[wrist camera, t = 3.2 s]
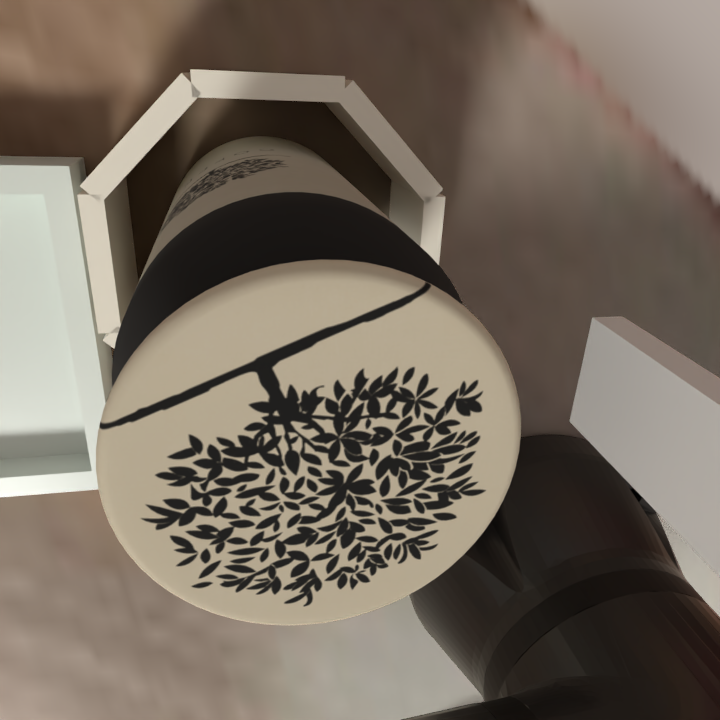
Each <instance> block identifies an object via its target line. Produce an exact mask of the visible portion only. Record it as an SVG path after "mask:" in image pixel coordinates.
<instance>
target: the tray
mask: <svg viewBox="0 0 720 720" xmlns="http://www.w3.org/2000/svg"><path fill="white" fill-rule="evenodd" d="M86 178H87V177H86V170H85V163H84V157H36V156H0V497H10V496H23V495H35V494H47V493H60V492H72V491H84V490H96V489H98V482H97V474H96V445H97V437H98V429H99V425H100V421H101V418H102V414H103V410H104V407H105V404H106V402H107V399H108V397H109V394H110V392H111V389H112V362H113V358H112V351H111V346H110V345H108V344H107V343H105V342H104V341H103V338H104V336H105V334H106V333H99V334H98V329H97V322H96V316H95V309H94V302H93V296H92V289H91V283H90V276H89V269H88V263H87V256H86V250H85V243H84V236H83V230H82V223H81V217H80V210H79V203H78V197H77V194H78V193H80V192H81V191H82V190H83V188H81V187H80V185H81V184H82V183H83V182H84V181H85V179H86Z"/></svg>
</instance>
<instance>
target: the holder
mask: <svg viewBox="0 0 720 720" xmlns="http://www.w3.org/2000/svg"><path fill="white" fill-rule="evenodd" d="M199 97H201V98H229V99H257V100H285V101H313V102H324V103H325V104H326V105H327V107H328V108H329V109H330V110H331V111H332V112H333V113H334V115H335V116H336V117H337V118H338V119H339V120H340V121H341V123H342V124H343V125H344V126H345V127H346V128H347V129H348V131H349V132H350V133H351V134H352V135H353V136H354V137H355V139H356V140H357V141H358V142H359V143H360V144H361V146H362V147H363V148H364V149H365V150H366V151H367V152H368V154H369V155H370V156H371V157H372V158H373V159H374V160H375V162H376V163H377V164H378V165H379V166H380V167H381V168H382V170H383V171H384V172H385V173H386V174H387V175H388V176H389V178H390V179H391V194H390V211H389V219H390V220H391V221H393V222H394V223H395V224H396V225H397V226H398V227H399V228H400V229H401V230H402V231H404V232H405V233H406V234H407V235H408V236H409V237H410V238H411V239H412V240H414V241H415V242H416V243H417V244H418V245H419V246H420V247H421V248H422V249H423V250H425V251H426V252H427V253H428V254H429V255H430V256H431V257H432V258H433V259H434V261H435V262H436V263H437V264H438V265H439V260H440V249H441V239H442V229H443V218H444V208H445V198H446V197H445V196H443V195H442V194H440V192H441V191H442V190H443V188H442V187H441V186H440V184H439V183H438V182H437V181H436V180H435V178H434V177H433V176H432V175H431V174H430V172H429V171H428V170H427V169H426V168H425V166H424V165H423V164H422V163H421V161H420V160H419V159H418V158H417V157H416V155H415V154H414V153H413V152H412V151H411V149H410V148H409V147H408V146H407V145H406V143H405V142H404V141H403V140H402V139H401V137H400V136H399V135H398V134H397V133H396V131H395V130H394V129H393V128H392V127H391V125H390V124H389V123H388V122H387V120H386V119H385V118H384V117H383V116H382V114H381V113H380V112H379V111H378V110H377V108H376V107H375V106H374V105H373V104H372V102H371V101H370V100H369V99H368V98H367V96H366V95H365V94H364V93H363V92H362V90H361V89H360V88H359V87H358V86H357V84H356V83H355V82H354V81H353V80H345V76H331V75H309V74H286V73H264V72H241V71H219V70H196V69H190V73H181V74H180V75H179V76H178V77H177V78H176V79H175V81H174V82H173V83H172V84H171V85H170V86H169V87H168V88H167V89H166V91H165V92H164V93H163V94H162V95H161V96H160V97H159V98H158V99H157V101H156V102H155V103H154V104H153V105H152V106H151V107H150V108H149V109H148V111H147V112H146V113H145V114H144V115H143V116H142V117H141V118H140V119H139V121H138V122H137V123H136V124H135V125H134V126H133V127H132V128H131V129H130V131H129V132H128V133H127V134H126V135H125V136H124V137H123V138H122V139H121V141H120V142H119V143H118V144H117V145H116V146H115V147H114V148H113V149H112V151H111V152H110V153H109V154H108V155H107V156H106V157H105V158H104V159H103V161H102V162H101V163H100V164H99V165H98V166H97V167H96V168H95V169H94V171H93V172H92V173H91V174H90V175H89V176H88V177H87V178H86V179H85V181H84V182H83V183H82V184H81V185H80V187H81V188H83V190H82V191H81V192H80V193H78V194H77V197H78V203H79V210H80V217H81V223H82V230H83V236H84V243H85V250H86V256H87V263H88V269H89V276H90V283H91V289H92V296H93V302H94V309H95V316H96V322H97V329H98V334H99V333H106V334H105V336H104V338H103V341H104V342H105V343H107V344H108V345H110V346H111V347H112V348H115V343H116V339H117V335H118V332H119V329H120V326H121V323H122V320H123V318H124V316H125V313H126V311H127V308H128V306H129V304H130V301H131V299H132V297H133V294H134V292H135V289H136V287H137V285H138V274H137V265H136V257H135V248H134V240H133V231H132V223H131V214H130V206H129V197H128V189H127V180H126V176H127V175H128V174H129V173H130V172H131V171H132V170H133V169H134V168H135V166H136V165H137V164H138V163H139V162H140V161H141V160H142V159H143V158H144V157H145V156H146V154H147V153H148V152H149V151H150V150H151V149H152V148H153V147H154V146H155V145H156V144H157V142H158V141H159V140H160V139H161V138H162V137H163V136H164V135H165V134H166V133H167V131H168V130H169V129H170V128H171V127H172V126H173V125H174V124H175V123H176V122H177V121H178V119H179V118H180V117H181V116H182V115H183V114H184V113H185V112H186V111H187V110H188V108H189V107H190V106H191V105H192V104H193V103H194V102H195V101H196V100H197V99H198V98H199Z"/></svg>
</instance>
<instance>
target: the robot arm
mask: <svg viewBox="0 0 720 720" xmlns="http://www.w3.org/2000/svg"><path fill="white" fill-rule="evenodd" d="M570 423H571V424H572V425H573V426H574V427H575V428H576V429H577V430H578V431H579V432H580V433H581V434H582V435H583V436H584V437H585V438H586V439H587V440H588V441H587V440H584V439H580V438H576V437H570V436H561V435H542V436H533V437H527V438H522V439H520V448H519V454H518V459H517V463H516V468H515V471H514V474H513V477H512V480H511V484H510V486H509V488H508V491H507V493H506V495H505V498H504V500H503V502H502V504H501V505H500V507H499V509H498V511H497V513H496V514H495V516H494V518H493V519H492V521H491V522H490V524H489V525H488V527H487V528H486V529H485V531H484V532H483V533H482V534H481V536H480V537H479V538H478V539H477V541H476V542H475V543H474V544H473V545H472V546H471V547H470V549H469V550H468V551H467V552H466V553H465V554H464V555H463V556H462V557H461V558H460V559H458V560H457V561H456V562H455V563H454V564H453V565H452V566H451V567H450V568H448V569H447V570H446V571H444V572H443V573H442V574H441V575H439V576H438V577H437V578H435V579H434V580H432V581H431V582H429V583H428V584H426V585H425V586H423V587H422V588H420V589H418V590H417V591H415V592H413V593H411V594H410V598H411V601H412V604H413V607H414V609H415V612H416V614H417V616H418V618H419V620H420V621H421V623H422V625H423V626H424V628H425V629H426V630H427V631H428V633H429V634H430V635H431V636H432V637H433V638H434V639H435V641H436V642H437V643H438V644H439V645H440V647H441V648H442V649H443V650H444V651H445V653H446V654H447V655H448V656H449V657H450V659H451V660H452V661H453V662H454V663H455V664H456V665H457V667H458V668H459V669H460V670H461V671H462V672H463V674H464V675H465V676H466V677H467V678H468V679H469V681H470V682H471V683H472V684H473V685H474V686H475V688H476V689H477V690H478V691H479V692H480V693H481V695H482V697H483V699H484V701H485V702H482V703H474V704H469V705H465V706H460V707H456V708H451V709H447V710H442V711H438V712H433V713H429V714H424V715H420V716H415V717H411V718H407V719H402V720H720V617H719V616H718V615H717V614H716V613H715V611H714V610H713V609H712V608H711V607H710V606H709V605H708V604H707V603H706V602H705V601H704V600H703V598H702V597H701V596H700V595H699V594H698V593H697V592H696V591H695V590H694V588H693V587H692V586H691V585H690V584H689V583H688V582H687V580H686V579H685V577H684V575H683V573H682V571H681V569H680V566H679V564H678V562H677V559H676V557H675V555H674V552H673V550H672V548H671V545H670V543H669V541H668V538H667V536H666V534H665V531H664V529H663V527H662V525H661V522H660V520H659V518H658V516H657V514H656V512H657V513H658V514H659V515H660V516H661V517H662V518H663V519H664V520H665V521H666V522H667V523H668V524H669V525H670V526H671V528H672V529H673V530H674V531H675V532H676V533H677V534H678V535H679V536H680V537H681V538H682V539H683V540H684V541H685V542H686V543H687V544H688V545H689V546H690V547H691V548H692V549H693V550H694V551H695V552H696V554H697V555H698V556H699V557H700V558H701V559H702V560H703V561H704V562H705V563H706V564H707V565H708V566H709V567H710V568H711V569H712V570H713V571H714V572H715V573H716V574H717V575H718V576H719V577H720V378H719V377H717V376H716V375H714V374H713V373H711V372H709V371H708V370H706V369H705V368H703V367H702V366H700V365H698V364H697V363H695V362H694V361H692V360H691V359H689V358H687V357H686V356H684V355H683V354H681V353H680V352H678V351H676V350H675V349H673V348H672V347H670V346H669V345H667V344H665V343H664V342H662V341H661V340H659V339H658V338H656V337H654V336H653V335H651V334H650V333H648V332H647V331H645V330H643V329H642V328H640V327H639V326H637V325H636V324H634V323H632V322H631V321H629V320H628V319H626V318H624V317H623V316H616V317H592V321H591V326H590V330H589V335H588V339H587V344H586V349H585V353H584V358H583V362H582V367H581V371H580V376H579V380H578V385H577V389H576V394H575V399H574V403H573V408H572V412H571V417H570Z"/></svg>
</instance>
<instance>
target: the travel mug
mask: <svg viewBox="0 0 720 720" xmlns="http://www.w3.org/2000/svg"><path fill="white" fill-rule="evenodd" d="M520 439H521V413H520V404H519V398H518V394H517V389H516V385H515V382H514V379H513V376H512V373H511V370H510V367H509V365H508V363H507V361H506V359H505V357H504V355H503V353H502V351H501V349H500V348H499V346H498V345H497V343H496V342H495V340H494V339H493V337H492V335H491V334H490V333H489V332H488V331H487V329H486V328H485V327H484V326H483V325H482V323H481V322H480V321H479V320H478V319H477V318H476V317H475V316H474V315H473V314H472V313H471V312H470V311H469V310H468V309H467V308H466V307H465V306H463V304H462V302H461V300H460V297H459V295H458V293H457V291H456V290H455V288H454V286H453V285H452V283H451V281H450V279H449V278H448V277H447V275H446V274H445V273H444V271H443V270H442V269H441V267H440V266H439V265H438V264H437V263H436V262H435V261H434V259H433V258H432V257H431V256H430V255H429V254H428V253H427V252H426V251H425V250H423V249H422V248H421V247H420V246H419V245H418V244H417V243H416V242H415V241H414V240H412V239H411V238H410V237H409V236H408V235H407V234H406V233H405V232H404V231H402V230H401V229H400V228H399V227H398V226H397V225H396V224H395V223H394V222H393V221H391V220H390V219H389V218H388V217H387V216H386V215H385V214H384V213H383V212H381V211H380V210H379V209H378V208H377V207H376V206H375V205H374V204H373V203H372V202H370V201H369V200H368V199H367V198H366V197H365V196H364V195H363V194H362V193H361V192H359V191H358V190H357V189H356V188H355V187H354V186H353V185H352V184H351V183H349V182H348V181H347V180H346V179H345V178H344V177H343V176H342V175H341V174H340V173H338V172H337V171H336V170H335V169H334V168H333V167H332V166H331V165H330V164H328V163H327V162H326V161H325V160H324V159H323V158H322V157H320V156H319V155H318V154H316V153H315V152H313V151H312V150H310V149H308V148H306V147H305V146H302V145H300V144H298V143H296V142H293V141H290V140H286V139H282V138H277V137H269V136H254V137H246V138H241V139H237V140H233V141H230V142H227V143H225V144H223V145H220V146H218V147H217V148H215V149H213V150H211V151H210V152H209V153H207V154H206V155H204V156H203V157H202V158H201V159H200V160H198V161H197V162H196V163H195V164H194V165H193V167H192V168H191V169H190V170H189V171H188V173H187V174H186V175H185V177H184V178H183V180H182V182H181V183H180V185H179V187H178V190H177V192H176V194H175V196H174V199H173V201H172V204H171V206H170V208H169V211H168V213H167V215H166V218H165V220H164V223H163V225H162V227H161V230H160V232H159V235H158V237H157V239H156V242H155V244H154V246H153V249H152V251H151V254H150V256H149V258H148V261H147V263H146V266H145V268H144V270H143V273H142V275H141V277H140V280H139V282H138V285H137V287H136V289H135V292H134V294H133V297H132V299H131V301H130V304H129V306H128V308H127V311H126V313H125V316H124V318H123V320H122V323H121V326H120V329H119V332H118V335H117V339H116V343H115V348H114V353H113V362H112V389H111V392H110V394H109V397H108V399H107V402H106V404H105V407H104V410H103V414H102V418H101V421H100V425H99V429H98V437H97V445H96V474H97V482H98V489H99V493H100V497H101V501H102V505H103V508H104V511H105V513H106V516H107V518H108V521H109V523H110V525H111V527H112V529H113V531H114V533H115V535H116V537H117V538H118V540H119V542H120V543H121V544H122V546H123V547H124V549H125V550H126V552H127V553H128V554H129V556H130V557H131V558H132V559H133V560H134V561H135V562H136V564H137V565H138V566H139V567H140V568H141V569H142V570H143V571H144V572H145V573H146V574H147V575H149V576H150V577H151V578H152V579H153V580H154V581H156V582H157V583H158V584H160V585H161V586H162V587H164V588H165V589H166V590H168V591H169V592H171V593H172V594H174V595H176V596H177V597H179V598H181V599H182V600H184V601H186V602H188V603H190V604H193V605H195V606H197V607H199V608H201V609H204V610H207V611H209V612H212V613H214V614H218V615H221V616H224V617H228V618H231V619H236V620H241V621H246V622H251V623H259V624H267V625H308V624H318V623H326V622H331V621H337V620H342V619H346V618H350V617H354V616H358V615H361V614H364V613H368V612H371V611H374V610H376V609H379V608H381V607H384V606H386V605H389V604H391V603H393V602H396V601H398V600H400V599H402V598H404V597H406V596H408V595H410V594H411V593H413V592H415V591H417V590H418V589H420V588H422V587H423V586H425V585H426V584H428V583H429V582H431V581H432V580H434V579H435V578H437V577H438V576H439V575H441V574H442V573H443V572H444V571H446V570H447V569H448V568H450V567H451V566H452V565H453V564H454V563H455V562H456V561H457V560H458V559H460V558H461V557H462V556H463V555H464V554H465V553H466V552H467V551H468V550H469V549H470V547H471V546H472V545H473V544H474V543H475V542H476V541H477V539H478V538H479V537H480V536H481V534H482V533H483V532H484V531H485V529H486V528H487V527H488V525H489V524H490V522H491V521H492V519H493V518H494V516H495V514H496V513H497V511H498V509H499V507H500V505H501V504H502V502H503V500H504V498H505V495H506V493H507V491H508V488H509V486H510V484H511V480H512V477H513V474H514V471H515V468H516V463H517V459H518V454H519V448H520Z"/></svg>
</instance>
